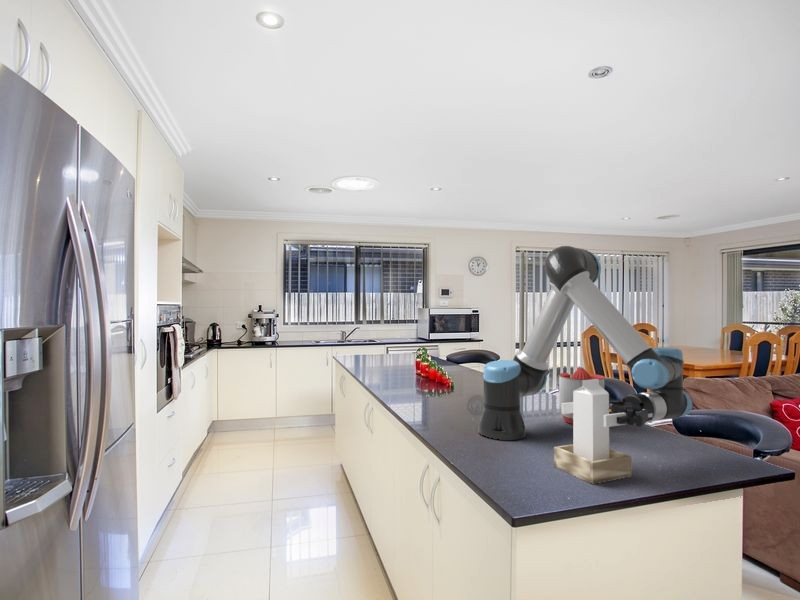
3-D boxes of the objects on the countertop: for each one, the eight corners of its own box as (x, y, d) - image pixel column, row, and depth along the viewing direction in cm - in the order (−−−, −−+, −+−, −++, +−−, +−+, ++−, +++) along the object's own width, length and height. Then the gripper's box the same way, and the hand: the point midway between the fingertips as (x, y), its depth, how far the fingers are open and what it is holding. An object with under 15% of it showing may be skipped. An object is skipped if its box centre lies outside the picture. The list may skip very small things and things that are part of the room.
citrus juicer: (594, 416, 166) (594, 364, 166) (612, 429, 148) (612, 370, 149) (552, 415, 167) (552, 363, 168) (565, 427, 150) (565, 369, 150)
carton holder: (554, 466, 113) (554, 447, 113) (590, 460, 117) (590, 441, 118) (592, 484, 101) (592, 462, 101) (631, 476, 106) (631, 456, 106)
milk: (609, 469, 108) (609, 380, 108) (593, 473, 105) (593, 382, 106) (588, 461, 114) (589, 377, 114) (572, 465, 111) (573, 378, 111)
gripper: (689, 433, 105) (625, 443, 97) (604, 411, 128) (547, 417, 120) (688, 402, 105) (625, 410, 97) (604, 385, 128) (547, 390, 120)
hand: (582, 414), depth 108 cm, fingers open, 13 cm apart
